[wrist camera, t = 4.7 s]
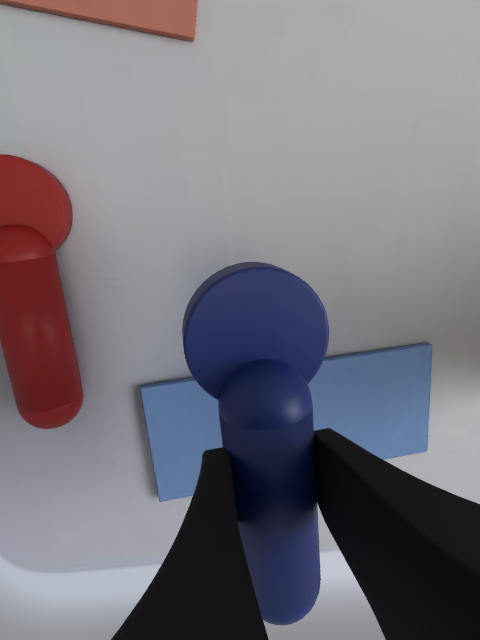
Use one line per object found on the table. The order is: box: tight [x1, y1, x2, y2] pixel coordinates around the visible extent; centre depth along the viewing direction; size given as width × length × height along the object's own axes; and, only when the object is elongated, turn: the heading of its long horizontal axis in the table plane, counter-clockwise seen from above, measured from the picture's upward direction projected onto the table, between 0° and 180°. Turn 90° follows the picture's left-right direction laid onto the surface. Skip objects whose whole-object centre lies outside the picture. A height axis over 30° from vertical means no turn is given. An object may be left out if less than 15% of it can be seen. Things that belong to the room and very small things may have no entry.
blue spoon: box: [182, 262, 329, 625], centre depth 11 cm, size 11×4×3 cm, turn 5°
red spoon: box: [0, 155, 83, 429], centre depth 16 cm, size 11×4×3 cm, turn 4°
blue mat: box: [140, 343, 432, 502], centre depth 21 cm, size 15×6×1 cm, turn 95°
